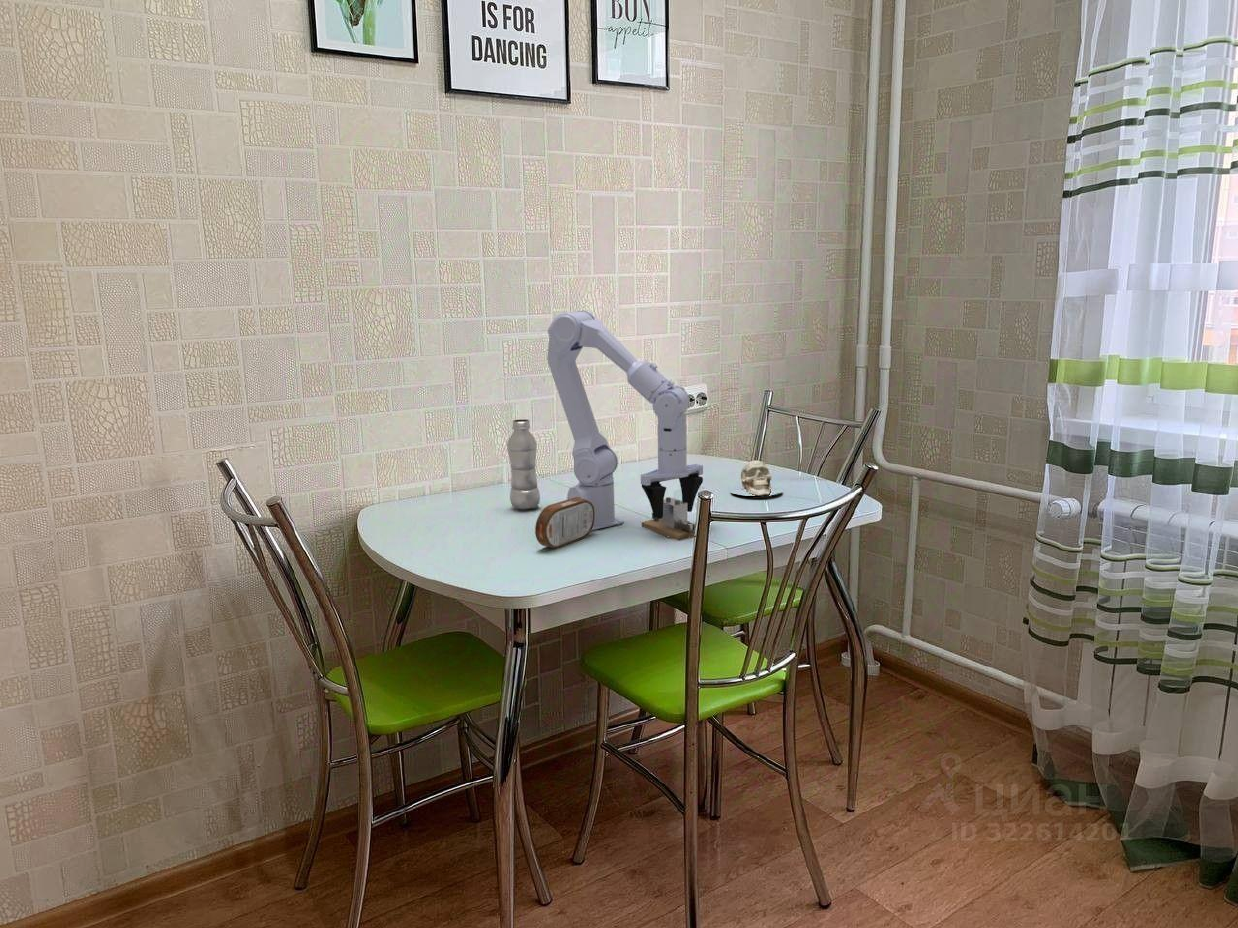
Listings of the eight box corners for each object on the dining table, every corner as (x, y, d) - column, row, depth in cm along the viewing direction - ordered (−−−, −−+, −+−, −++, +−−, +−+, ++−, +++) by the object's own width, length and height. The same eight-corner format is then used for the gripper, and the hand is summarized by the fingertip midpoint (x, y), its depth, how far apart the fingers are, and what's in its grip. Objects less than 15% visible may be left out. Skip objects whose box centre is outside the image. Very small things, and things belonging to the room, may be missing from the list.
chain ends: (689, 532, 181) (689, 525, 181) (652, 519, 191) (651, 512, 191) (694, 531, 182) (694, 524, 182) (657, 518, 192) (657, 511, 192)
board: (678, 540, 180) (678, 535, 180) (641, 526, 190) (641, 522, 190) (705, 533, 184) (705, 528, 184) (668, 520, 194) (668, 516, 193)
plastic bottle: (535, 513, 202) (531, 423, 197) (506, 512, 203) (501, 423, 199) (543, 505, 208) (540, 418, 204) (515, 504, 209) (510, 417, 205)
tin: (586, 532, 187) (585, 492, 185) (598, 534, 185) (597, 494, 184) (534, 551, 176) (532, 508, 174) (546, 554, 174) (544, 511, 172)
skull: (779, 501, 207) (780, 468, 205) (726, 499, 210) (726, 466, 208) (784, 488, 218) (785, 457, 216) (734, 486, 221) (734, 455, 219)
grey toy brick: (673, 529, 184) (673, 503, 182) (658, 524, 188) (658, 498, 187) (687, 526, 186) (687, 500, 184) (672, 521, 190) (672, 495, 188)
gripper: (655, 456, 176) (656, 525, 179) (712, 446, 184) (713, 511, 187) (633, 451, 181) (635, 517, 185) (690, 441, 190) (690, 504, 193)
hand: (672, 514), depth 186 cm, fingers open, 7 cm apart
